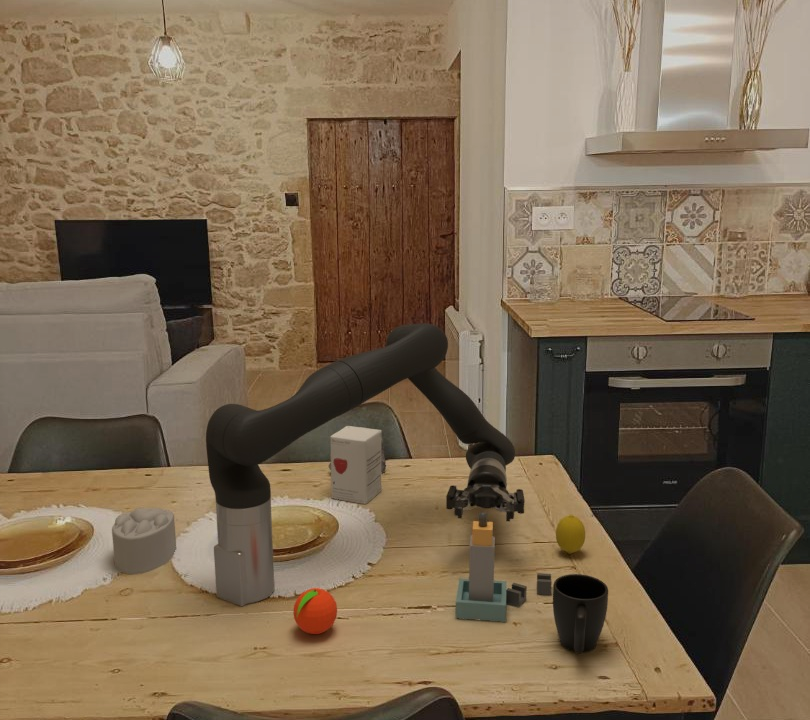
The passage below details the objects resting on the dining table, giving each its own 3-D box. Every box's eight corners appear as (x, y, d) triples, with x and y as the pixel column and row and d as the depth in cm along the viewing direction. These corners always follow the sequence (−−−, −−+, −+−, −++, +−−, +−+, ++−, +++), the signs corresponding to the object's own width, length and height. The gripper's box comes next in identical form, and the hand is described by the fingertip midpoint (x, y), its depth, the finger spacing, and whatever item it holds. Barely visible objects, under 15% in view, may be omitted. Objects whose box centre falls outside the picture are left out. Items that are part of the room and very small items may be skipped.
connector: (492, 609, 132) (495, 518, 129) (468, 607, 133) (470, 517, 130) (493, 597, 136) (495, 508, 133) (469, 595, 137) (471, 507, 133)
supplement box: (329, 499, 181) (328, 435, 178) (347, 485, 189) (346, 424, 186) (366, 505, 178) (365, 440, 174) (382, 491, 186) (382, 429, 183)
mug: (547, 668, 118) (549, 609, 116) (552, 625, 130) (555, 571, 127) (604, 675, 116) (608, 616, 114) (605, 631, 128) (608, 576, 126)
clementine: (315, 651, 122) (314, 608, 121) (280, 637, 126) (278, 596, 125) (346, 627, 129) (345, 586, 128) (312, 614, 133) (311, 575, 131)
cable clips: (535, 612, 133) (535, 598, 133) (505, 603, 136) (506, 589, 136) (557, 588, 141) (557, 575, 141) (528, 580, 144) (529, 567, 143)
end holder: (505, 622, 130) (506, 605, 130) (455, 618, 131) (455, 602, 131) (506, 597, 138) (506, 581, 138) (459, 594, 139) (459, 578, 139)
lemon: (584, 561, 151) (586, 522, 149) (554, 558, 152) (556, 519, 151) (584, 548, 156) (586, 510, 155) (555, 546, 158) (556, 508, 156)
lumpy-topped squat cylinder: (181, 543, 159) (178, 502, 157) (160, 574, 146) (157, 530, 145) (129, 543, 159) (126, 502, 158) (103, 574, 147) (99, 530, 145)
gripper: (451, 462, 158) (444, 492, 142) (524, 466, 156) (525, 497, 140) (450, 498, 160) (443, 532, 144) (523, 502, 158) (523, 537, 142)
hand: (483, 515), depth 142 cm, fingers open, 8 cm apart
